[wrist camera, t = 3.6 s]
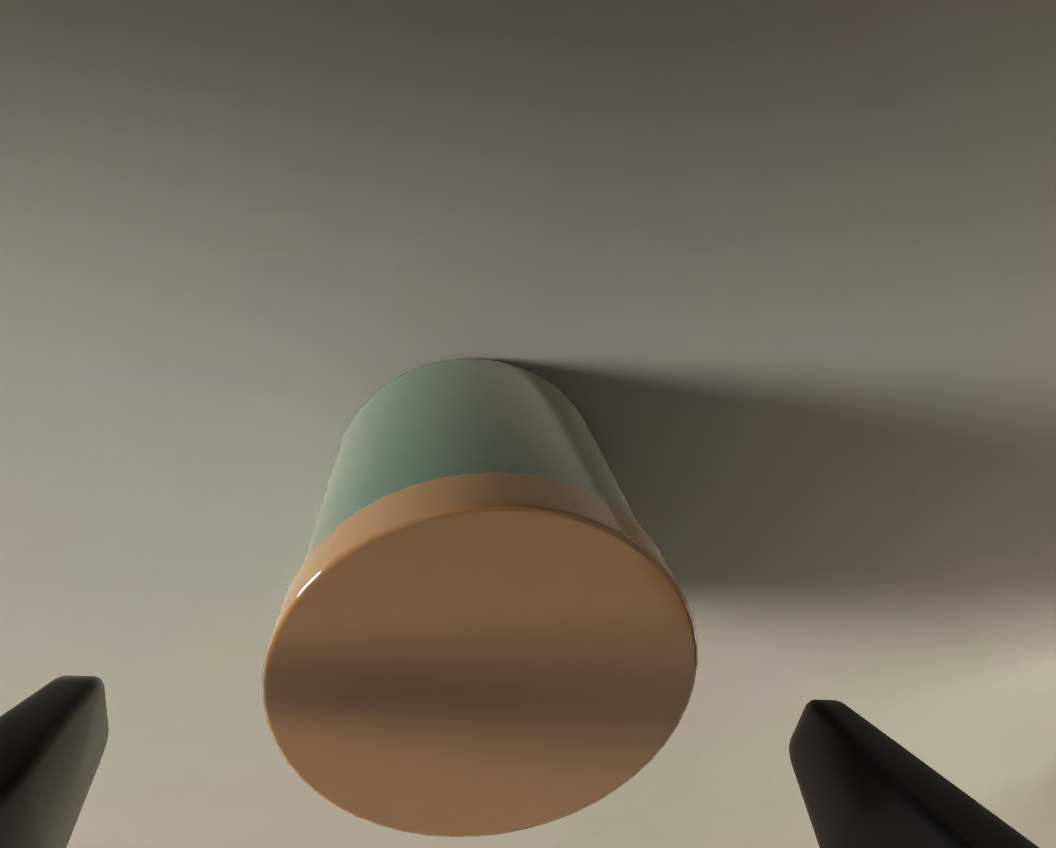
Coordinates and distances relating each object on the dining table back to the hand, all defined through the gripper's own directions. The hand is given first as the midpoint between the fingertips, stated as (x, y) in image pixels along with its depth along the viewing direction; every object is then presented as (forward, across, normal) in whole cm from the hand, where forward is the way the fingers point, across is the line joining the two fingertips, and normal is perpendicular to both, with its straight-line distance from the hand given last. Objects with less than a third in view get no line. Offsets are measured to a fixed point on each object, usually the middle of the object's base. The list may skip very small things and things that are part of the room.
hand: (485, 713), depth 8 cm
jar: (+6, 0, 0) cm, 6 cm away
